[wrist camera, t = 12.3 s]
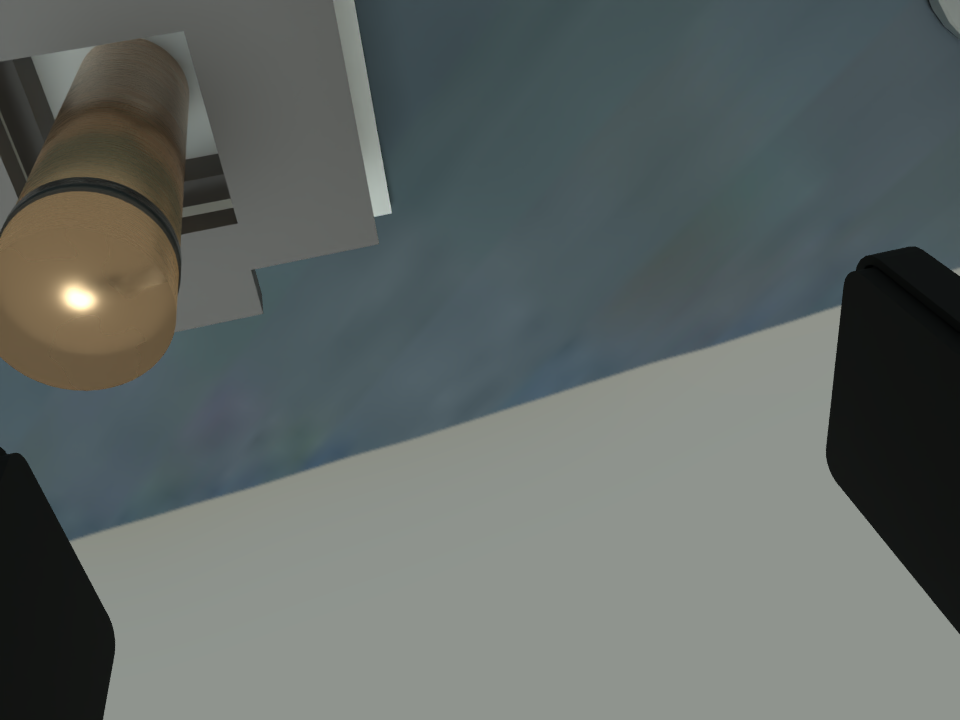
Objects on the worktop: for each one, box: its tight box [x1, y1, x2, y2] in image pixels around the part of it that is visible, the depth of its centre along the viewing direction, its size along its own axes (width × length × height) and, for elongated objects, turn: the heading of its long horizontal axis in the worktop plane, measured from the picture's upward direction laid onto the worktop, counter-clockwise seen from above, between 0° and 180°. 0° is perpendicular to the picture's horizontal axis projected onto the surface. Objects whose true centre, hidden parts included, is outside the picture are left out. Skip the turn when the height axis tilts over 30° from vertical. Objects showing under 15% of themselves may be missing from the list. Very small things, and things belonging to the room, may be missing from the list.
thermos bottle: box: [0, 38, 189, 391], centre depth 27 cm, size 4×4×18 cm
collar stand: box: [0, 0, 392, 332], centre depth 32 cm, size 18×14×8 cm
